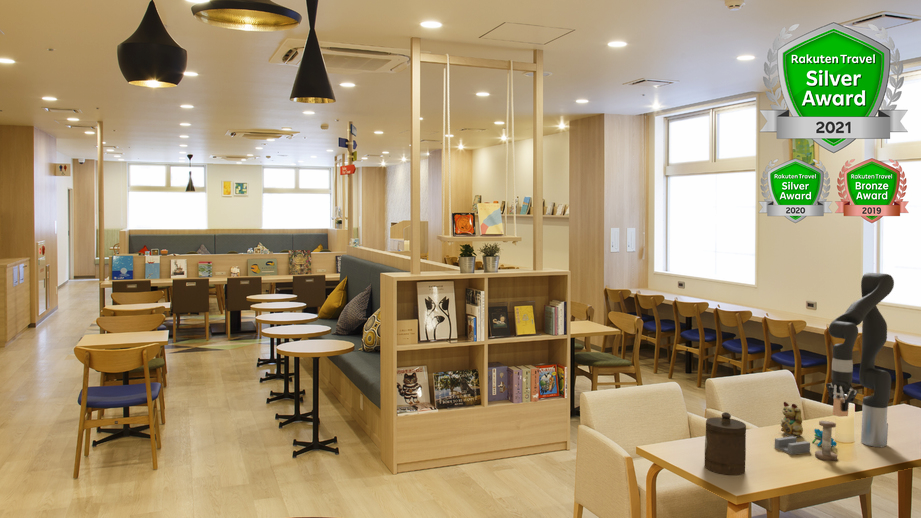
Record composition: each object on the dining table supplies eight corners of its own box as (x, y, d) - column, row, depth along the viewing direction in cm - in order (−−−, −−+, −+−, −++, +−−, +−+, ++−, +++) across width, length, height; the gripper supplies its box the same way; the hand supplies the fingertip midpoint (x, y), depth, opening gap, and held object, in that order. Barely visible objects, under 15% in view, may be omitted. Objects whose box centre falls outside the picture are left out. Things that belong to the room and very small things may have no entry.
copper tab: (841, 414, 273) (842, 397, 273) (847, 416, 270) (849, 399, 270) (832, 414, 272) (833, 398, 271) (838, 416, 269) (840, 400, 268)
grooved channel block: (792, 445, 282) (792, 436, 282) (809, 452, 274) (810, 442, 273) (774, 447, 279) (774, 438, 278) (791, 454, 270) (792, 445, 270)
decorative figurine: (777, 433, 298) (778, 401, 297) (787, 430, 303) (788, 398, 302) (797, 439, 290) (798, 406, 289) (807, 436, 295) (809, 403, 294)
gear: (842, 446, 277) (825, 429, 277) (833, 456, 276) (816, 439, 276) (826, 441, 288) (810, 425, 288) (817, 451, 287) (801, 435, 287)
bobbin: (824, 453, 272) (826, 419, 272) (841, 459, 265) (843, 424, 264) (810, 455, 270) (811, 420, 269) (827, 461, 262) (828, 426, 261)
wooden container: (719, 458, 264) (721, 405, 263) (753, 470, 252) (755, 414, 251) (696, 465, 256) (697, 411, 255) (729, 478, 244) (731, 420, 243)
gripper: (864, 372, 265) (862, 413, 266) (834, 365, 278) (833, 404, 279) (850, 373, 262) (849, 415, 263) (820, 366, 275) (819, 406, 276)
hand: (840, 409), depth 271 cm, fingers closed on copper tab, 2 cm apart
